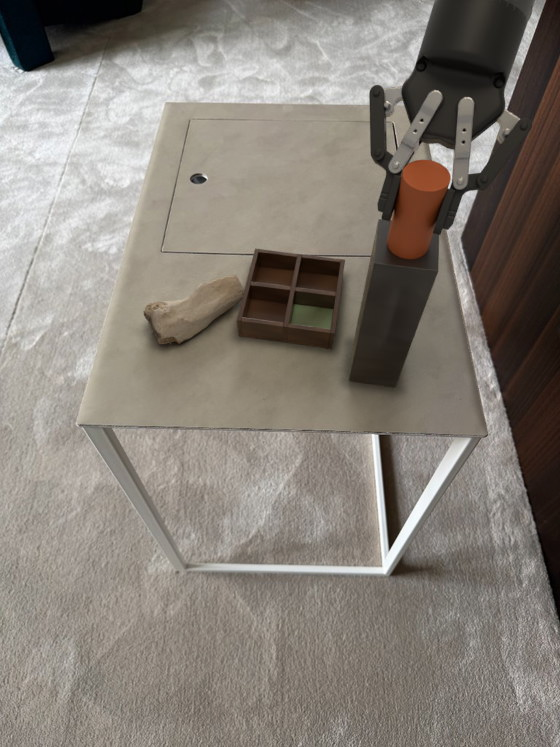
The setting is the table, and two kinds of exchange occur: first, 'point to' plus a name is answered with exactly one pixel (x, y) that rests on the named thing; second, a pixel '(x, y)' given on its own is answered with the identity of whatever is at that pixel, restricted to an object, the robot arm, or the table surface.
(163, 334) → the bone fragment
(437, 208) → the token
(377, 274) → the stand
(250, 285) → the grid
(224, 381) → the table surface
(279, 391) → the table surface
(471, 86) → the robot arm
